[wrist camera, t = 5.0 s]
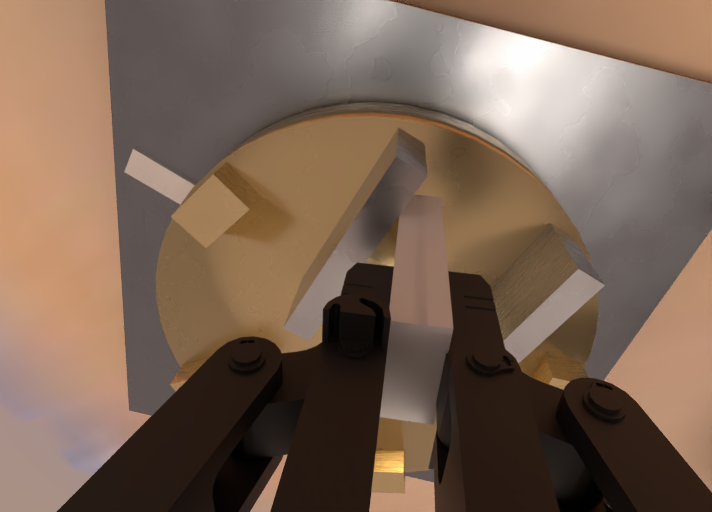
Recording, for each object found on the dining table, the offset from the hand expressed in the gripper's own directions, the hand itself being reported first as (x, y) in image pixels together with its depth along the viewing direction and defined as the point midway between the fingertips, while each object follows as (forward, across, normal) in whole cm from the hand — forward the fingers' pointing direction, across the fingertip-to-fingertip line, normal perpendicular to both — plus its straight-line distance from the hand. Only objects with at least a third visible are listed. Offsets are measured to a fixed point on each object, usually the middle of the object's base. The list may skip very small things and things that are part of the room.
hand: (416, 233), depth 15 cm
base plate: (+5, -2, -6) cm, 8 cm away
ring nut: (+4, -2, -6) cm, 7 cm away
